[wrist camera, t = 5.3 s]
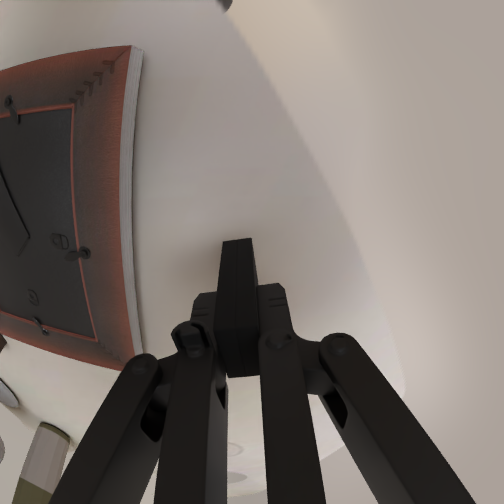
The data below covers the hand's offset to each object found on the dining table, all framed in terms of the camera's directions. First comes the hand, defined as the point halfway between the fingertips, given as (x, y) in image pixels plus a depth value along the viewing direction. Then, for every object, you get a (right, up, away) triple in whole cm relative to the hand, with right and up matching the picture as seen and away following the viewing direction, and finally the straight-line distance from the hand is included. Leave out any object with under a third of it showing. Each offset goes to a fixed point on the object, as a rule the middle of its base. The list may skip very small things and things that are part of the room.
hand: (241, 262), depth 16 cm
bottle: (-33, -30, +17) cm, 48 cm away
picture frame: (-15, +3, 0) cm, 15 cm away
